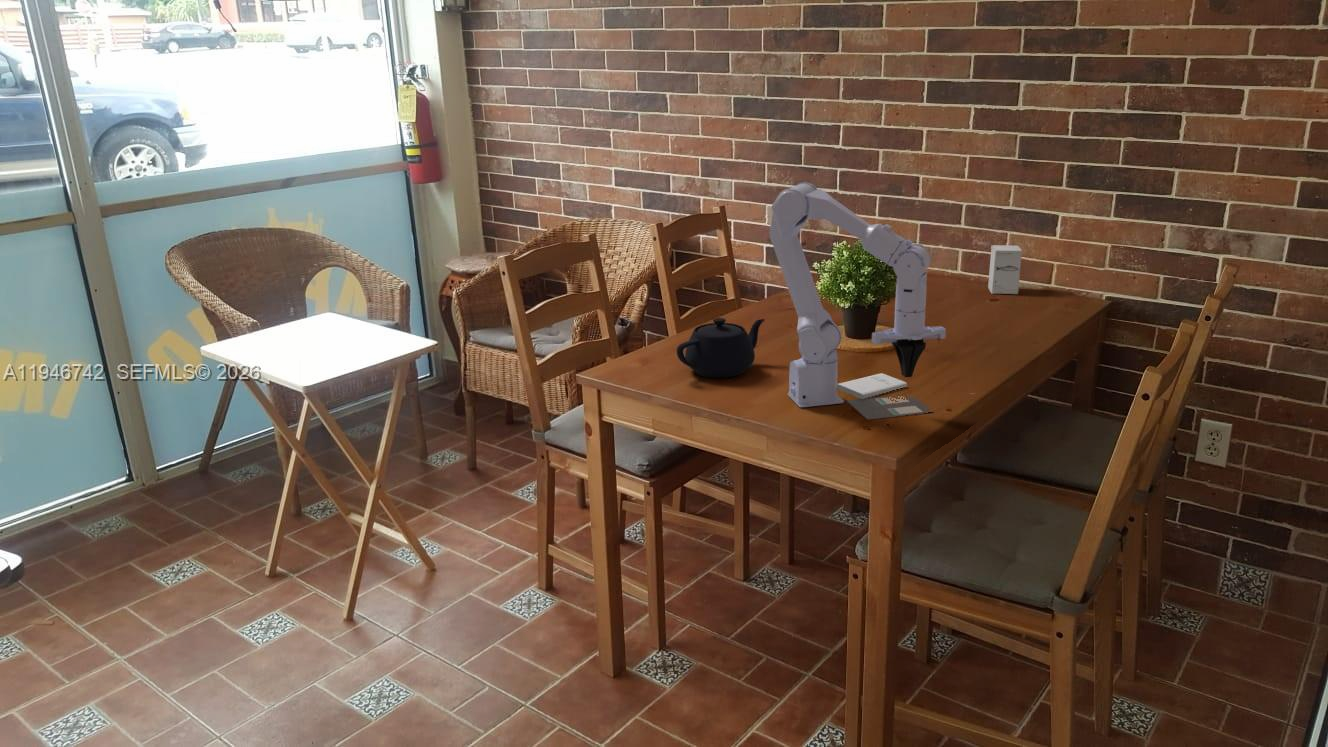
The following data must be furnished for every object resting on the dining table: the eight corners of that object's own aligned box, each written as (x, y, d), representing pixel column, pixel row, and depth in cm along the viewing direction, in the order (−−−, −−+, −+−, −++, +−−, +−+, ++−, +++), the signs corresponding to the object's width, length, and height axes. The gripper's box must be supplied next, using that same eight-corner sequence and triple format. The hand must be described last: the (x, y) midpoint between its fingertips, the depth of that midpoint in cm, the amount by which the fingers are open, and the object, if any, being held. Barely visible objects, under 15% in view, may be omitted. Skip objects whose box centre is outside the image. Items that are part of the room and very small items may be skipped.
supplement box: (991, 294, 287) (994, 250, 283) (987, 287, 294) (991, 244, 290) (1018, 294, 285) (1022, 250, 281) (1014, 288, 292) (1018, 244, 288)
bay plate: (867, 419, 200) (867, 419, 200) (846, 400, 210) (846, 400, 210) (933, 412, 202) (933, 411, 202) (909, 394, 213) (909, 393, 213)
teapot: (700, 391, 218) (699, 336, 214) (657, 373, 230) (656, 321, 226) (787, 367, 232) (787, 314, 228) (742, 351, 244) (742, 301, 240)
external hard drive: (836, 390, 218) (880, 379, 224) (862, 401, 211) (907, 389, 217) (836, 383, 217) (880, 371, 223) (862, 394, 210) (907, 382, 216)
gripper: (883, 317, 192) (880, 385, 196) (954, 311, 195) (950, 378, 199) (868, 308, 198) (866, 374, 203) (937, 301, 201) (933, 367, 206)
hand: (906, 375), depth 201 cm, fingers closed
